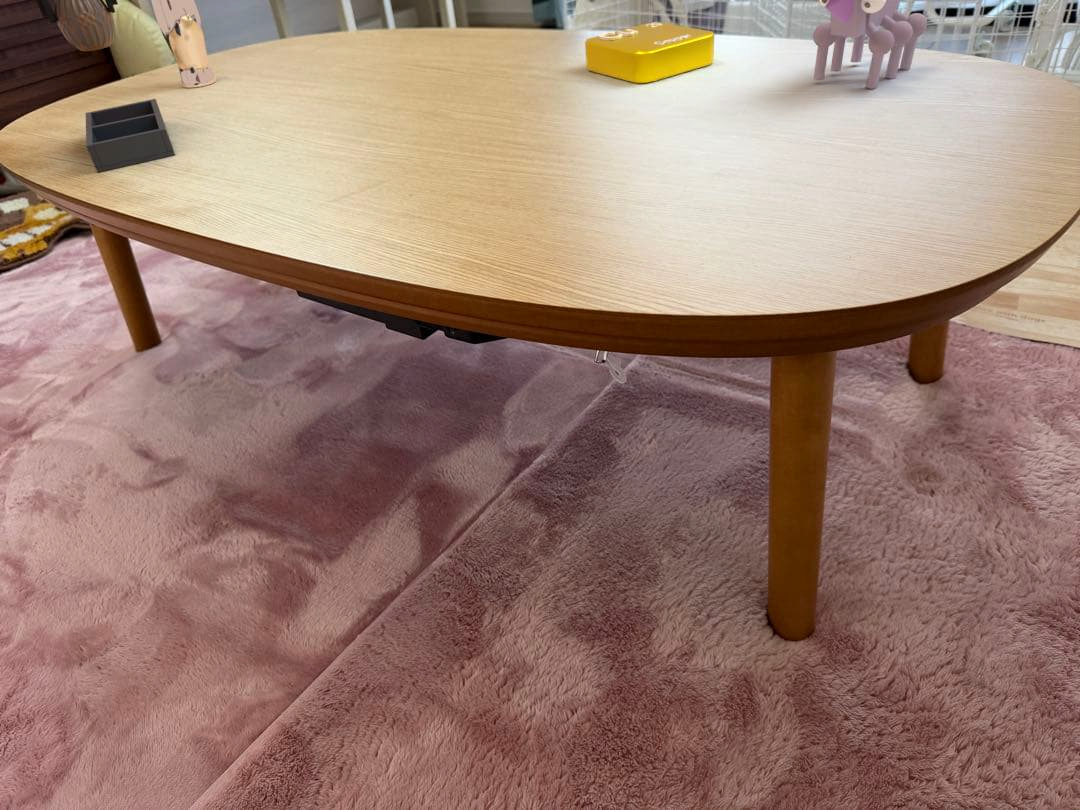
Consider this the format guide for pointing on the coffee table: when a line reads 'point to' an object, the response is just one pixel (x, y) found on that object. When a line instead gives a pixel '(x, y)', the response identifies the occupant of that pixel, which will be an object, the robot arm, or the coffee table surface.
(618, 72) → the element tile
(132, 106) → the holder
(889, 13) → the pink figurine
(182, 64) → the beer glass
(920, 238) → the coffee table surface
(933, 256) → the coffee table surface
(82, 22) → the vase
